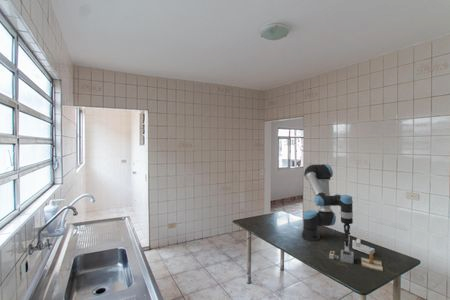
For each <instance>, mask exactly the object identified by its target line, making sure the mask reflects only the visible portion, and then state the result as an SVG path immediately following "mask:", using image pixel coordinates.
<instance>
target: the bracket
mask: <svg viewBox="0 0 450 300" xmlns="http://www.w3.org/2000/svg"><path fill="white" fill-rule="evenodd" d="M361 241H362V240H361V238H360V237H356V240H355V239H352V246H351V247H352V249H354V250H357V251H359V252H362V253H365V254H367V255H369V254H373V255H374V254H375V250H376V249H375V248H374V247H370V246H368V245H365V244H362V243H361Z"/></svg>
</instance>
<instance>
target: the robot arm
mask: <svg viewBox="0 0 450 300" xmlns="http://www.w3.org/2000/svg"><path fill="white" fill-rule="evenodd" d="M333 173H334V172H333V169H332V167H331V165H330V164H325V163H323V164H311V165H308V166H307V167H306V168H305V169H304V172H303V175H304V178H305V180H306V181H307V182H308V183H309V185H310V188H311V191H312V192H313V194H314V199H313V201H314V204H315V206H317V207H319V208H318V211H317V210H313V209H311V210H306V211H304V212H303V216H302V219H303V221H302V222H303V223H302V225H303V229H302V231H301V238H302V239H303V240H306V241H307V242H308V241H310V242H316V241H319V240H320V233H319V231H318V227H330V226H334V225H335V223H336V219H337V218H336V214H335V212H334V211H333V209H331V206H333V207H336V206H337V207H338V206H339V207H340V212H339V213H340V216H341V217H340V222H341V223H342V224H343V232H344V239H343V240H342V241H343V242H344V250H346V251H350V241H351V240H350V235H351V232H350V231H351V225H352V224H353V223H354V222H353V221H354V219H353V217H354V216H353V215H354V214H353V213H354V212H353V203H354V202H353V197H352V196H351V195H348V194H338V193H336V194H334V195H330V180H331V178H332V177H333V175H334V174H333Z"/></svg>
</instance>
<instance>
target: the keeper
mask: <svg viewBox="0 0 450 300" xmlns="http://www.w3.org/2000/svg"><path fill="white" fill-rule="evenodd" d="M368 255H369V257H368V258H366V257H360V258H361V267H362V268H366V269H371V270H375V271H379V272H380V271H381V272H383V268H384V267H383V264H382V260H378V259H374V257H375V256H374V254H368Z"/></svg>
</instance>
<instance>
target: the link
mask: <svg viewBox="0 0 450 300" xmlns="http://www.w3.org/2000/svg"><path fill="white" fill-rule="evenodd" d="M354 257H355V256H354V251H351V250H349V251H346V250H345V249H341V250H340V262H343V263H348V264H354V260H355V259H354Z"/></svg>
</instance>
